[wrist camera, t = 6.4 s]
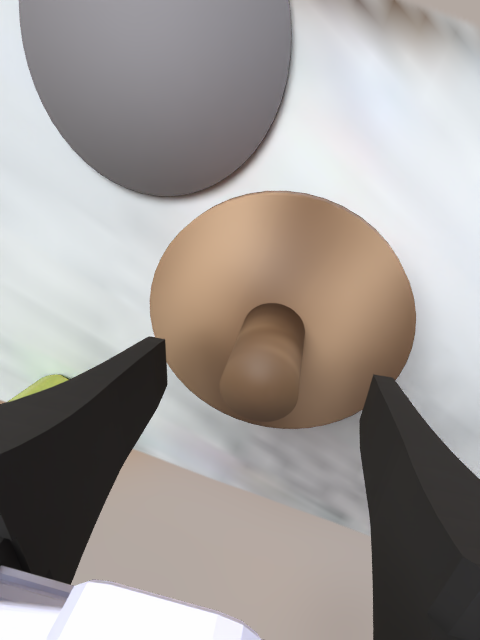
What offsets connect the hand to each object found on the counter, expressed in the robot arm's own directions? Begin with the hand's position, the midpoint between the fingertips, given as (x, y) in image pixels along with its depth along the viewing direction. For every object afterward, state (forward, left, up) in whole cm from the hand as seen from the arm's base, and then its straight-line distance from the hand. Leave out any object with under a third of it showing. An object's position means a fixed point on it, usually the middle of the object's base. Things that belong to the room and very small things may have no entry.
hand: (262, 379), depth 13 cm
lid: (0, 0, -4) cm, 4 cm away
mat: (+7, -10, -8) cm, 15 cm away
